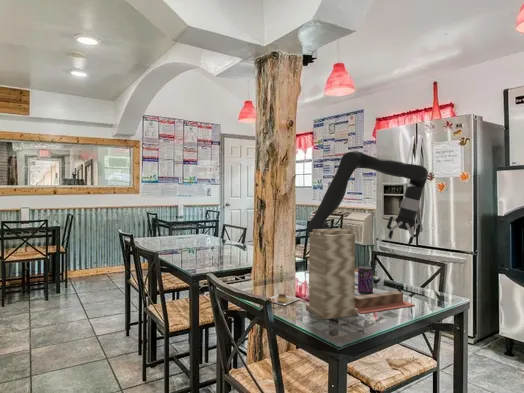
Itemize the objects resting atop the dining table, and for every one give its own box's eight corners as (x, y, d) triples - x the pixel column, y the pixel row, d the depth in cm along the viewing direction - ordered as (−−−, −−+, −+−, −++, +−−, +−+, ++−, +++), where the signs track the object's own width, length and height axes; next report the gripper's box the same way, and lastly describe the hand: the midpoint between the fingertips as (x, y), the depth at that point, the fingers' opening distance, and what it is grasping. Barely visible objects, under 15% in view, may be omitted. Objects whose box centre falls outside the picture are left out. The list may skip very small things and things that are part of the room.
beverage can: (362, 294, 174) (362, 269, 174) (355, 290, 181) (355, 266, 181) (375, 293, 176) (376, 268, 176) (367, 289, 183) (368, 265, 183)
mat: (361, 313, 146) (361, 312, 146) (341, 303, 159) (341, 303, 159) (414, 305, 157) (414, 304, 157) (391, 297, 170) (391, 296, 170)
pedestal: (323, 319, 140) (324, 232, 139) (305, 308, 153) (306, 228, 152) (358, 314, 146) (358, 230, 145) (338, 304, 159) (338, 227, 158)
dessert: (279, 296, 173) (279, 286, 173) (300, 300, 165) (300, 290, 165) (263, 302, 164) (263, 291, 164) (285, 307, 156) (285, 296, 156)
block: (358, 308, 151) (358, 299, 151) (352, 305, 155) (352, 296, 155) (403, 302, 161) (403, 293, 161) (396, 299, 164) (396, 290, 164)
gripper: (392, 204, 168) (382, 237, 170) (424, 212, 161) (414, 247, 164) (394, 203, 175) (385, 236, 177) (426, 212, 168) (416, 245, 170)
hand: (399, 241), depth 170 cm, fingers open, 8 cm apart
